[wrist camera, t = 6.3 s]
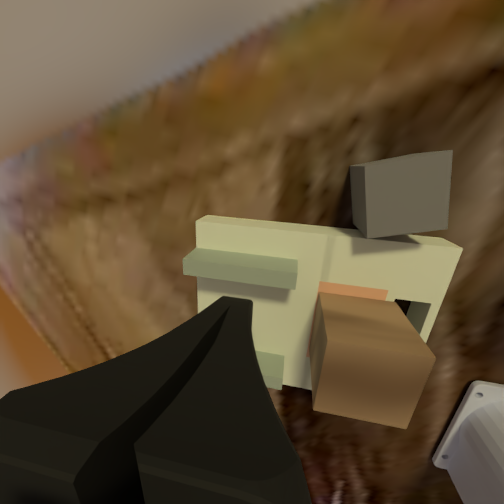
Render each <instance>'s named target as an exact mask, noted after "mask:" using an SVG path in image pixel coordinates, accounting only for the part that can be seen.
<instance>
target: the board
mask: <svg viewBox="0 0 504 504" xmlns="http://www.w3.org/2000/svg"><path fill="white" fill-rule="evenodd" d="M462 250H463V248H461V247H459V246H457V245H455V244H453V243H451V242H449V241H447V240H445V239H443V238H438V237H428V236H418V235H407V234H401V235H393V236H385V237H377V238H369V239H367V238H366V237H365V235H364V234H363V233H362V232H361V231H360V230H356V229H346V228H336V227H325V226H315V225H305V224H295V223H284V222H274V221H264V220H254V219H244V218H233V217H223V216H213V215H206V216H204V217H202V218H201V219H199V220H197V221H196V248H195V249H194V250H193V251H192V252H190V253H189V254H188V255H187V256H185V257H184V258H183V275H191V276H197V290H198V313H200V312H201V311H202V310H204V309H205V308H207V307H208V306H209V305H211V304H212V303H213V302H215V301H216V300H218V299H219V298H220V297H222V296H229V297H236V298H243V299H250V300H252V302H253V315H252V337H253V342H254V347H255V352H256V356H257V360H258V363H259V367H260V370H261V373H262V376H263V379H264V382H265V385H266V387H269V388H274V389H279V390H281V389H282V384H284V385H289V386H294V387H299V388H304V389H309V390H312V385H311V369H310V354H309V346H310V341H311V335H312V329H313V324H314V318H315V312H316V307H317V301H318V295H319V292H324V293H332V294H339V295H347V296H354V297H362V298H369V299H376V300H384V301H391V302H394V301H395V299H401V300H409V301H411V303H410V306H409V309H408V312H407V315H406V317H407V318H408V320H409V321H410V323H411V324H412V325H413V327H414V328H415V330H416V331H417V332H418V334H419V335H420V336H421V338H422V339H423V341H424V342H425V343H426V341H427V339H428V336H429V334H430V331H431V329H432V326H433V324H434V321H435V319H436V316H437V313H438V311H439V308H440V306H441V303H442V301H443V298H444V296H445V293H446V291H447V288H448V286H449V283H450V281H451V278H452V276H453V273H454V270H455V268H456V265H457V263H458V260H459V258H460V255H461V253H462Z"/></svg>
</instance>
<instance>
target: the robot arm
mask: <svg viewBox="0 0 504 504" xmlns="http://www.w3.org/2000/svg"><path fill="white" fill-rule="evenodd" d="M252 315H253V302H252V300H250V299H243V298H236V297H229V296H222V297H220V298H219V299H218V300H216V301H215V302H213V303H212V304H211V305H209V306H208V307H207V308H205V309H204V310H202V311H201V312H200V313H198V314H197V315H195V316H194V317H192V318H191V319H189V320H188V321H186V322H184V323H183V324H181V325H180V326H178V327H177V328H175V329H173V330H172V331H170V332H168V333H166V334H165V335H163V336H161V337H159V338H157V339H155V340H153V341H151V342H149V343H147V344H145V345H143V346H141V347H139V348H137V349H134V350H132V351H130V352H127V353H125V354H123V355H120V356H118V357H116V358H113V359H111V360H108V361H106V362H103V363H100V364H98V365H95V366H92V367H89V368H87V369H84V370H81V371H78V372H75V373H72V374H69V375H66V376H63V377H59V378H56V379H52V380H49V381H45V382H42V383H38V384H35V385H31V386H28V387H24V388H20V389H17V390H13V391H10V392H9V393H8V394H6V395H5V396H4V397H2V398H1V399H0V504H312V503H311V498H310V494H309V490H308V486H307V482H306V479H305V475H304V471H303V468H302V464H301V460H300V458H299V456H298V454H297V452H296V450H295V448H294V446H293V444H292V443H291V441H290V439H289V437H288V435H287V433H286V431H285V429H284V427H283V425H282V422H281V420H280V418H279V416H278V414H277V412H276V409H275V407H274V405H273V402H272V400H271V397H270V395H269V392H268V390H267V387H266V385H265V382H264V379H263V376H262V373H261V370H260V367H259V363H258V360H257V356H256V352H255V347H254V342H253V337H252ZM432 461H433V463H434V465H435V466H436V467H438V468H442V469H447V471H448V473H449V475H450V477H451V479H452V481H453V483H454V485H455V487H456V489H457V491H458V493H459V495H460V497H461V499H462V501H463V503H464V504H504V385H502V384H497V383H491V382H485V381H474V382H472V383H471V384H470V386H469V388H468V390H467V392H466V394H465V396H464V398H463V400H462V402H461V404H460V406H459V408H458V410H457V411H456V413H455V415H454V417H453V419H452V421H451V423H450V425H449V427H448V429H447V431H446V433H445V435H444V437H443V439H442V440H441V442H440V444H439V446H438V448H437V450H436V452H435V454H434V456H433V458H432Z"/></svg>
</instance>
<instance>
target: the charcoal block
mask: <svg viewBox="0 0 504 504" xmlns="http://www.w3.org/2000/svg"><path fill="white" fill-rule="evenodd" d="M452 153H453V150H446V151H436V152H425V153H415V154H410V155H405V156H400V157H394V158H389V159H384V160H379V161H373V162H368V163H363V164H358V165H352V166H350V181H351V198H352V215H353V224H354V225H355V226H356V227H357V228H358V229H359V230H360V231H361V232H362V233H363V234H364V235H365V237H366V238H367V239H369V238H377V237H385V236H393V235H401V234H410V233H418V232H426V231H434V230H442V229H447V228H448V213H449V198H450V183H451V168H452Z"/></svg>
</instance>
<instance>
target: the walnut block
mask: <svg viewBox="0 0 504 504" xmlns="http://www.w3.org/2000/svg"><path fill="white" fill-rule="evenodd" d="M309 354H310V369H311V385H312V400H313V410H315V411H320V412H325V413H330V414H335V415H340V416H345V417H350V418H354V419H359V420H364V421H369V422H374V423H379V424H384V425H388V426H393V427H398V428H403V429H407V426H408V424H409V421H410V419H411V417H412V414H413V412H414V410H415V407H416V405H417V402H418V400H419V398H420V395H421V393H422V391H423V388H424V386H425V383H426V381H427V379H428V376H429V374H430V372H431V369H432V367H433V365H434V362H435V360H436V357H435V356H434V355H433V353H432V352H431V350H430V349H429V348H428V346H427V345H426V343H425V342H424V341H423V339H422V338H421V336H420V335H419V334H418V332H417V331H416V330H415V328H414V327H413V325H412V324H411V323H410V321H409V320H408V318H407V317H406V316H405V314H404V313H403V312H402V310H401V309H400V307H399V306H398V305H397V303H396V302H391V301H384V300H376V299H369V298H362V297H354V296H347V295H339V294H332V293H324V292H319V295H318V301H317V307H316V312H315V318H314V324H313V329H312V335H311V341H310V346H309Z"/></svg>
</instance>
